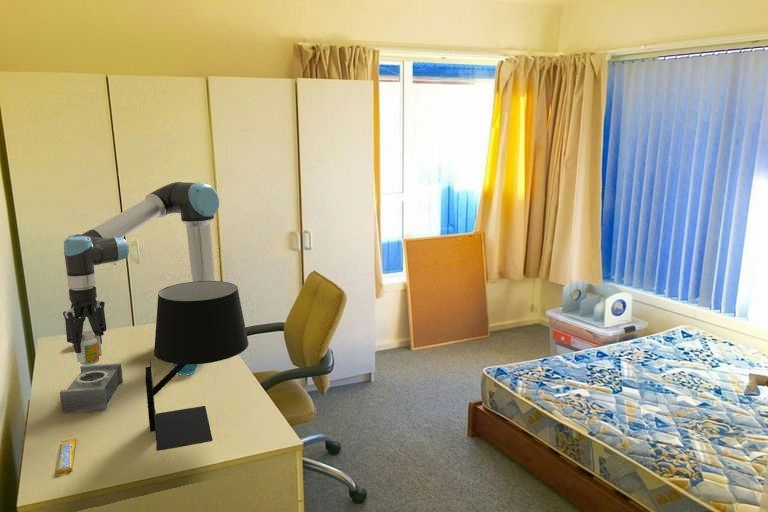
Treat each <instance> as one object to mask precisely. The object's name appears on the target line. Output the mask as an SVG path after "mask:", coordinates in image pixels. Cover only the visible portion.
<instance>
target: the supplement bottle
mask: <svg viewBox="0 0 768 512" xmlns="http://www.w3.org/2000/svg"><path fill="white" fill-rule="evenodd" d="M84 331H85V330H84ZM94 335H95V334H94V332H93V330H87V331H85V332H82V340H81V342H84V349H85V358H86V362H85V363H81V362H79V363H80V364H81V366H82V365H96V364H98V362H99V361H100V356H99V352H98V342H97V339H96V338H94Z"/></svg>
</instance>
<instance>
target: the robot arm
mask: <svg viewBox="0 0 768 512" xmlns="http://www.w3.org/2000/svg"><path fill="white" fill-rule="evenodd" d="M219 207H220V198H219V195H218V193H217V191H216V189H215V188H214V187H212V185H209V184H207V183H201V182H186V181H185V182H182V181H177V182H176V181H175V182H171V183H169V184H168V183H167V184H166V185H164V186H161V187H160V188H158V189H155V190H154V191H151V192H150V193H148V194H146V195H145V198H144V199H143V200H141V201H139V202H138V203H136V204H134V205H132V206H131V207H128V208H127V209H125V210H123V211H122V212H120V213H118V214H116V215H114V216H113V217H111V218H108V219H107V220H106V221H103V222H102V223H100V224H98V225H96V226H94V227H93V228H91V229H89V230H87V231H85V232H83V233H82V234H79V233H77V234H71V235H69V236H68V237H67V238H65V240H64V241H63V255H64V261H65V269H66V278H67V287H68V288H69V289H68V298H69V301H70V302H71V306H70V309H69V310H67V311H65V310H64V311H63V313H62V315H63V317H64V323H65V333H66V342H67V343H71V344H72V343H73V344H74V345H73V344H72V345H73V349H74V350H73V352H74V353H75V354H76V359H77V360H76V361H77V363H80V362H81V363H85V362H86V358H85V349H84V342H81V340H82V332H83V331H84V323H85V321H86V318H87V319H88V323H89V325H90V327H91V331H93V332H94V338H96V339H97V342H98V352H99V357H101V356H103V354H102V343H103V340H102V339H103V337H102V336H104V335H105V332H107V329H108V328H107V324H106V322H107V320H106V315H105V314H106V313H105V306H106V305H105V303H106V301H102V300H101V301H100V300H97V297H98V295H97V287H96V286H95V285H96V282H97V281H96V276H95V266H99V265H103V264H109V263H114V262H119V261H122V260H125V259H127V257H128V256H129V253H130V247H129V244H128V242H127V240H126V239H124V237H126V236H127V235H130V233H133V232H134V231H136V230H138V229H139V228H142V226H144V225H146V224H147V223H150V222H151V221H154V219H156V218H163V217H166V216H168V215H170V214H180V219H181V222H182V223H183V224H185V227H186V236H187V245H188V247H187V248H188V254H189V255H188V256H189V266H190V274H191V282H196V281H217V279H216V270H215V269H216V268H215V260H214V259H215V258H214V251H213V239H212V229H211V227H212V226H211V223H212V222H213V221H214V219H215V216H214V215H215V214H217V212H218V209H219ZM81 363H80V364H81Z"/></svg>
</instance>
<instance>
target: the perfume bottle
mask: <svg viewBox="0 0 768 512" xmlns="http://www.w3.org/2000/svg"><path fill="white" fill-rule="evenodd" d="M171 364H172V366H173V368H174V367H175V366H176V365H177V364H173V363H171ZM198 365H199V364H192V365H185V366H184V367H183V368H182V369H181V370H180V371H179V372H178V374H181V375H180V376H188V375H187V374H190V375H192V374H191V373H193V374H195V373H196V372H197V368H198ZM195 371H196V372H195ZM194 372H195V373H194ZM178 374H177V375H178Z"/></svg>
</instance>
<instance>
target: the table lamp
mask: <svg viewBox="0 0 768 512" xmlns="http://www.w3.org/2000/svg"><path fill="white" fill-rule="evenodd" d="M156 305H157V306H156V319H155V320H156V321H155V335H154V336H155V337H154V349H153V355H154V357H156V359H158V360H160V362H164V363H168V364H172V363H173V364H177V365H176V366H175V367H174V366H173V368H172V369H171V370H170V371H169V372H168V373H166V375H165V376H164V377H163V378H162V379H160V381H158V382H157V384H155V385H154V383H153V371H152V369H153V368H152V359H151V357H149V366H145V370H144V371H145V372H144V373H145V374H144V375H145V388H146V403H147V412H148V414H147V415H148V423H149V433H153V432H154V435H155V443H156V444H155V445H156V448H155V449H156V451H164V450H169V449H175V448H181V447H186V446H190V445H196V444H197V445H198V444H202V443H208V442H212V441H213V435H212V430H211V427H210V426H211V425H210V422H209V416H208V413H207V407H206V405H202V406H195V407H194V406H193V407H189V408H188V407H187V408H181V409H175V410H171V411H164V412H157V411H156V408H155V396H156V395H157V394H159V392H160V391H161V390H162V389H163V388H164V387H165V386H166V385H167V384H168V383H170V381H171V380H172V379H173V378H174V377H175V376H176V375H178V374H177V373H178V372H179V371H180V370H181V369H182V368H183V367H184V366H185V365H192V364H198V365H204V364H211V363H215V362H221V361H224V360H228V359H230V358H231V359H232V358H234V357H235V356H238V355H239V354H241V353H243V352H245V350H247V348H248V347H249V340H248V339H249V338H248V334H247V329H246V324H245V319H244V314H243V313H244V312H243V309H242V308H243V307H242V303H241V299H240V294H239V288H238V286H237V285H236V284H234V283H231V282H226V281H220V280H219V281H218V280H216V281H196V282H192V281H188V282H183V283H182V282H180V283H177V284H173V285H169V286H167V287H164V288H162V289H161V290H159V291H158V293H157V304H156ZM173 364H172V365H173Z"/></svg>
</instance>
